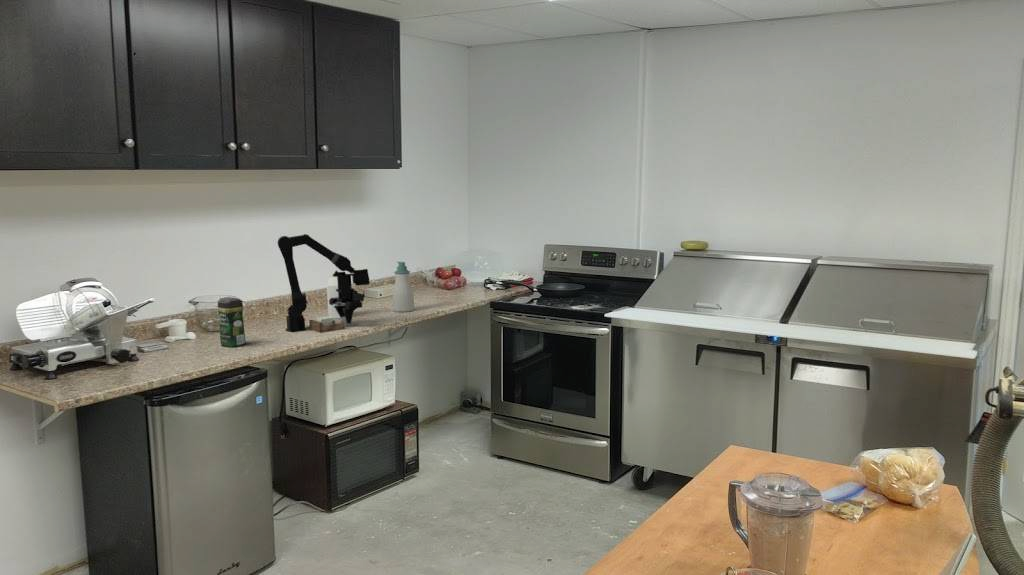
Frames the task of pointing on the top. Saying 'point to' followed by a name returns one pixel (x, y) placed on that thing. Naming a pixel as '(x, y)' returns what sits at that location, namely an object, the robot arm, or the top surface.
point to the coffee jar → (231, 322)
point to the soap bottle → (402, 290)
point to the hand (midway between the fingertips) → (346, 322)
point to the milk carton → (332, 296)
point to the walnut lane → (325, 326)
